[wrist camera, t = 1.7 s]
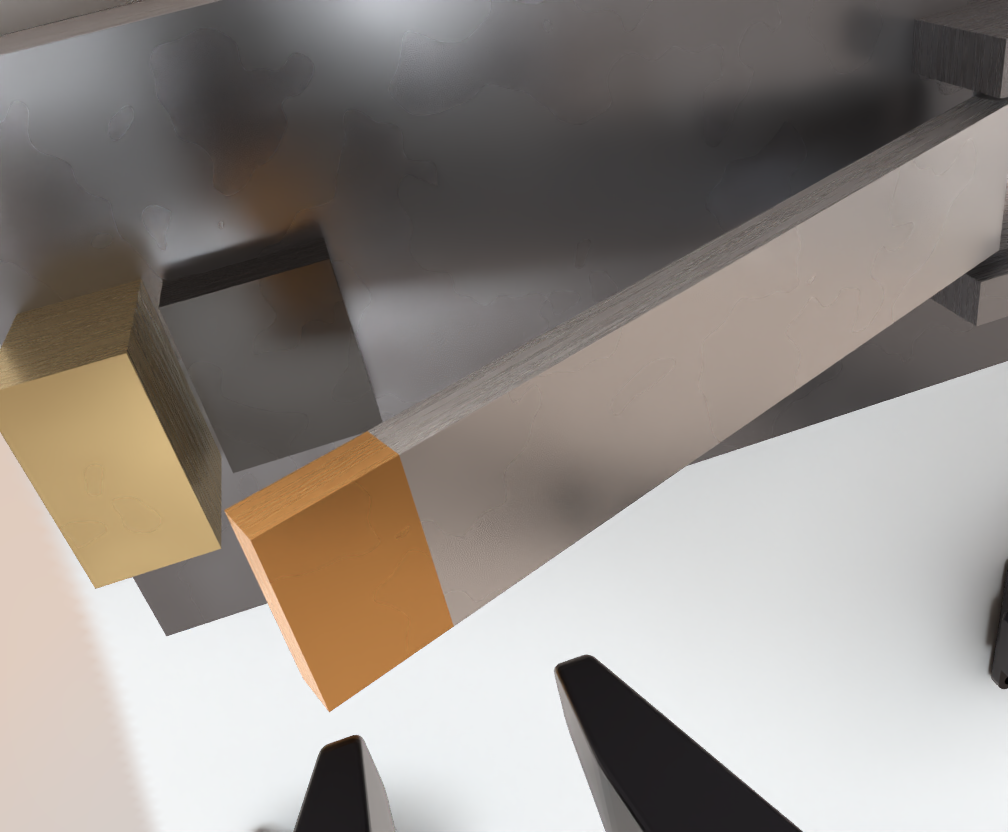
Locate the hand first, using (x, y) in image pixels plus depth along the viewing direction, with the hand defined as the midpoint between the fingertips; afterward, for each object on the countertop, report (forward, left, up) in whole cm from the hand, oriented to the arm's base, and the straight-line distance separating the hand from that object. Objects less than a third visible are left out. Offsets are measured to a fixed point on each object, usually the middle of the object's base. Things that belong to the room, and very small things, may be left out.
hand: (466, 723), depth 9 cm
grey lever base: (-5, 0, -13) cm, 14 cm away
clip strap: (-6, 0, -6) cm, 8 cm away
